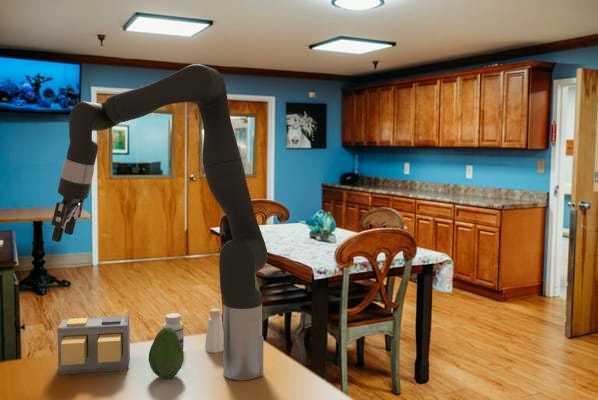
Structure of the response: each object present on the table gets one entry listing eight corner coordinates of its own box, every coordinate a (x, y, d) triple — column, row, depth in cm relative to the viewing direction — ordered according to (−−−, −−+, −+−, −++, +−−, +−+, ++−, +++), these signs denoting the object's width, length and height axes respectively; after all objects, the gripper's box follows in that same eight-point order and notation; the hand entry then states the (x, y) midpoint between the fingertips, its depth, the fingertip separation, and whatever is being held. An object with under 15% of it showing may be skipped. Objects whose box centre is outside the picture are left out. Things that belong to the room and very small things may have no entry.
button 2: (122, 349, 146) (122, 329, 146) (120, 361, 138) (119, 340, 138) (101, 350, 145) (100, 331, 145) (97, 362, 137) (97, 341, 137)
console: (129, 357, 152) (129, 313, 151) (128, 369, 144) (127, 323, 143) (63, 361, 148) (62, 316, 147) (58, 374, 140) (57, 326, 139)
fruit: (149, 385, 134) (148, 334, 133) (148, 372, 142) (147, 324, 141) (184, 382, 137) (184, 332, 135) (182, 369, 144) (182, 322, 143)
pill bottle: (160, 348, 158) (160, 313, 158) (180, 346, 161) (180, 311, 160) (165, 355, 154) (165, 319, 153) (185, 352, 156) (185, 317, 155)
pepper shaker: (203, 352, 156) (202, 312, 155) (206, 345, 162) (206, 306, 160) (223, 353, 156) (223, 312, 155) (226, 346, 161) (226, 307, 160)
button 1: (88, 351, 144) (88, 331, 144) (84, 363, 137) (83, 342, 136) (66, 353, 143) (66, 333, 143) (61, 365, 135) (60, 344, 135)
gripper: (81, 186, 145) (66, 247, 147) (99, 178, 159) (85, 235, 161) (51, 177, 144) (36, 239, 147) (71, 171, 159) (58, 227, 161)
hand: (62, 237), depth 154 cm, fingers open, 8 cm apart
